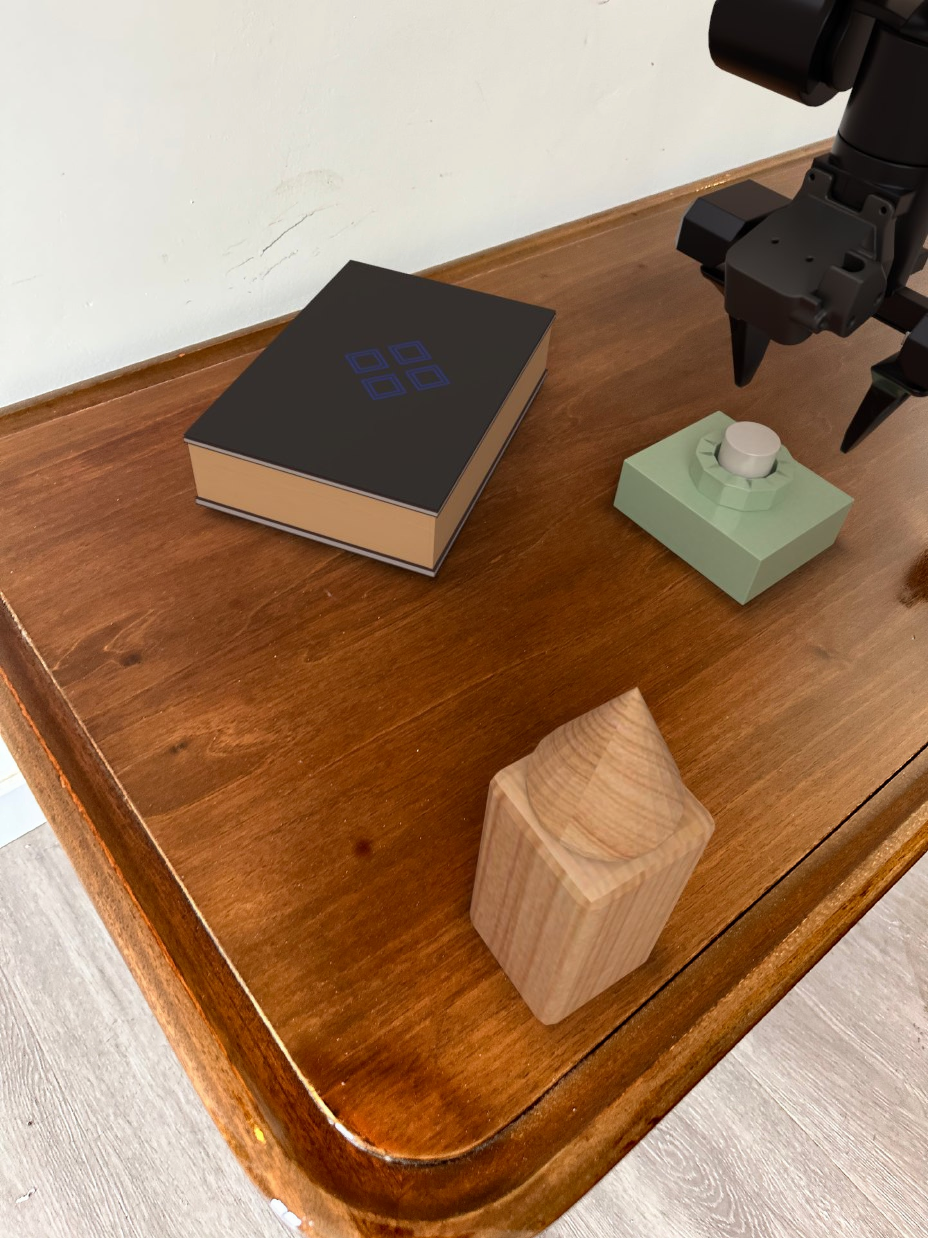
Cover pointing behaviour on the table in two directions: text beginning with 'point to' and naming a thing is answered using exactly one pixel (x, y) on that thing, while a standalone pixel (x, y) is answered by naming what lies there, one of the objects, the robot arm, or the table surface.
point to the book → (374, 415)
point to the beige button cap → (749, 450)
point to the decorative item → (585, 856)
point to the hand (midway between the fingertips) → (792, 416)
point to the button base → (730, 509)
